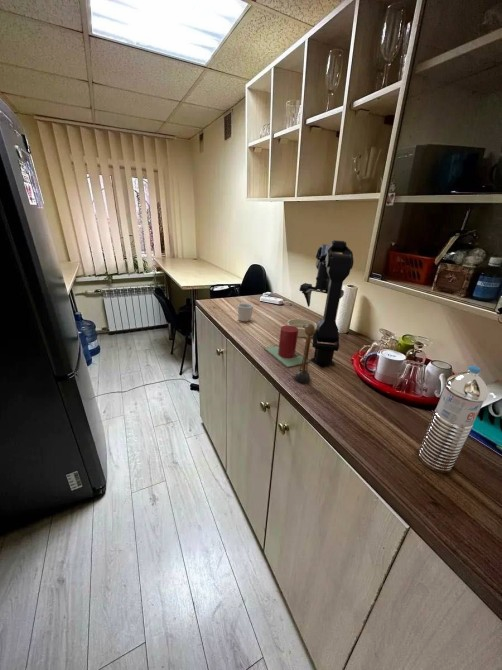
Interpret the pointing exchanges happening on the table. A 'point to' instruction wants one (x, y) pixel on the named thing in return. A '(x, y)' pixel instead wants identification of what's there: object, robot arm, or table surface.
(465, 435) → the water bottle
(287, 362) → the mat
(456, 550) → the table surface
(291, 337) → the can
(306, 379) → the wooden tabletop sculpture
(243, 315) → the cup
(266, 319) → the table surface
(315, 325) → the bowl
